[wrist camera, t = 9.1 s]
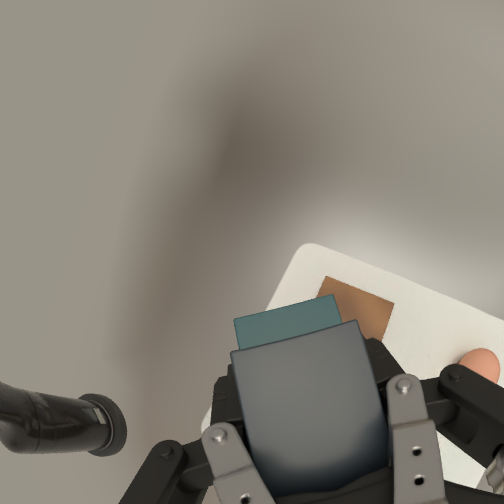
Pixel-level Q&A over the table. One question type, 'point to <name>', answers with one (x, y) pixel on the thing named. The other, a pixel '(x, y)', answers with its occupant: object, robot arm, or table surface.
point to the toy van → (308, 398)
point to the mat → (359, 307)
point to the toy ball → (483, 363)
